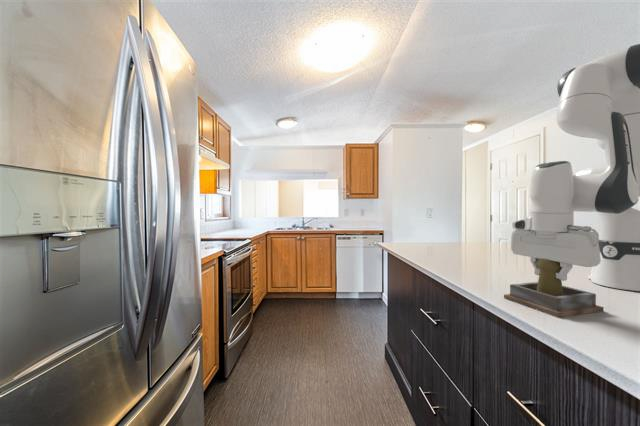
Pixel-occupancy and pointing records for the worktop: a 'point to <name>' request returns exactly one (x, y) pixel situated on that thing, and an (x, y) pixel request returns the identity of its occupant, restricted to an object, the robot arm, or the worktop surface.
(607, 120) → the robot arm
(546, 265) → the cork
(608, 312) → the worktop surface
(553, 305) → the grey-rimmed square tray
